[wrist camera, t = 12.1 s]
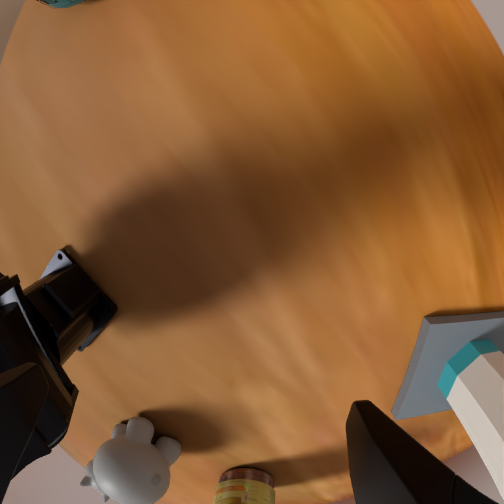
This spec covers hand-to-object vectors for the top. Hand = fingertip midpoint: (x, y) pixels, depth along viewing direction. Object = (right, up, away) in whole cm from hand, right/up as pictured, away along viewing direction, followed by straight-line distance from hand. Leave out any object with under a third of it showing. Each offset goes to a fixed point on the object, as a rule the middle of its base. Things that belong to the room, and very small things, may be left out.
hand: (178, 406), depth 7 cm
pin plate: (+23, -6, +14) cm, 28 cm away
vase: (+21, -6, +13) cm, 25 cm away
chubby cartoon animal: (-11, -16, +19) cm, 27 cm away
